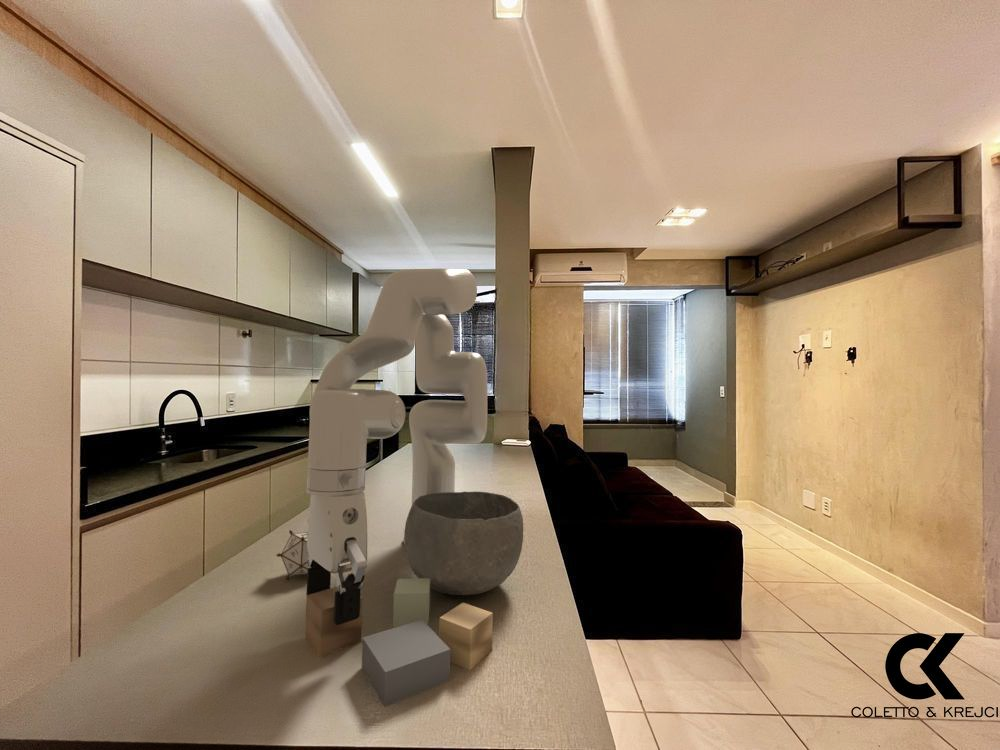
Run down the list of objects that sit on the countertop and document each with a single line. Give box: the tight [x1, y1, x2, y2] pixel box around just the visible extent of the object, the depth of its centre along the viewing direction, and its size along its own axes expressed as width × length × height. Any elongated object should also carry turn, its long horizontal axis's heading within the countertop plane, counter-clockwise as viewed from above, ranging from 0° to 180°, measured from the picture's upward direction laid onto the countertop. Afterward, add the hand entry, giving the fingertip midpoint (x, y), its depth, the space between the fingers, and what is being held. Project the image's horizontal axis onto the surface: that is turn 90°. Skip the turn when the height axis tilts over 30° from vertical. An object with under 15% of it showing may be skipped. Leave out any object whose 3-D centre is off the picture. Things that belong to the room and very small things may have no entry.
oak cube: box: [438, 602, 494, 670], centre depth 59 cm, size 5×5×5 cm
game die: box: [275, 529, 311, 581], centre depth 82 cm, size 9×8×10 cm
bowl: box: [403, 490, 524, 596], centre depth 78 cm, size 20×20×15 cm
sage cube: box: [392, 577, 431, 629], centre depth 67 cm, size 5×5×5 cm
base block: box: [361, 620, 451, 708], centre depth 54 cm, size 8×8×4 cm
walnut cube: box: [304, 586, 363, 658], centre depth 61 cm, size 6×6×6 cm
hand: (331, 607), depth 61 cm, fingers open, 9 cm apart
